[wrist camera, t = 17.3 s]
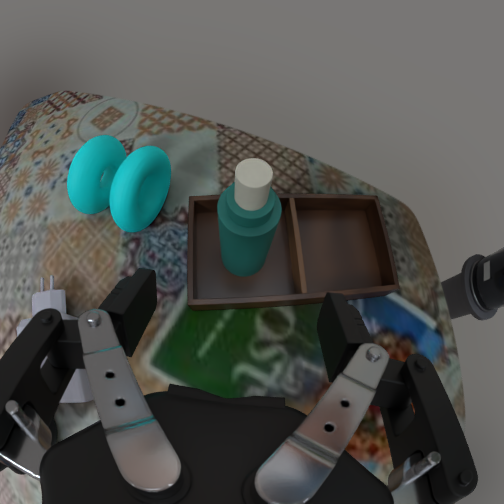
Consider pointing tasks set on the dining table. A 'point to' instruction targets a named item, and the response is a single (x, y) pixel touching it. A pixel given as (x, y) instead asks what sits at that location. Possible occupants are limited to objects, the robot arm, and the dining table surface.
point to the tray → (295, 254)
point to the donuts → (119, 181)
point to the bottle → (248, 218)
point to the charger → (79, 382)
